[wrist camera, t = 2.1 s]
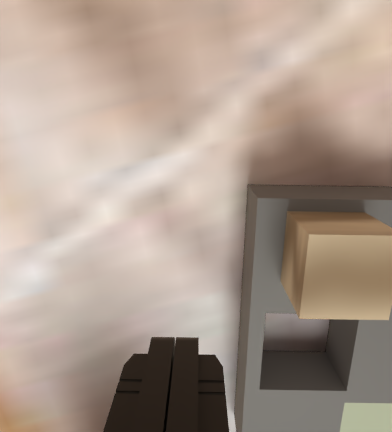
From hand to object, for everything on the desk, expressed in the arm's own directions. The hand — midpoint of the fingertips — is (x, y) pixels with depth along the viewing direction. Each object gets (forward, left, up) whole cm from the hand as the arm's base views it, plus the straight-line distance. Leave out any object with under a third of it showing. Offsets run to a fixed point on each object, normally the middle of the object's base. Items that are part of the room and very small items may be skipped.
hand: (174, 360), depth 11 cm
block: (0, +8, -10) cm, 13 cm away
